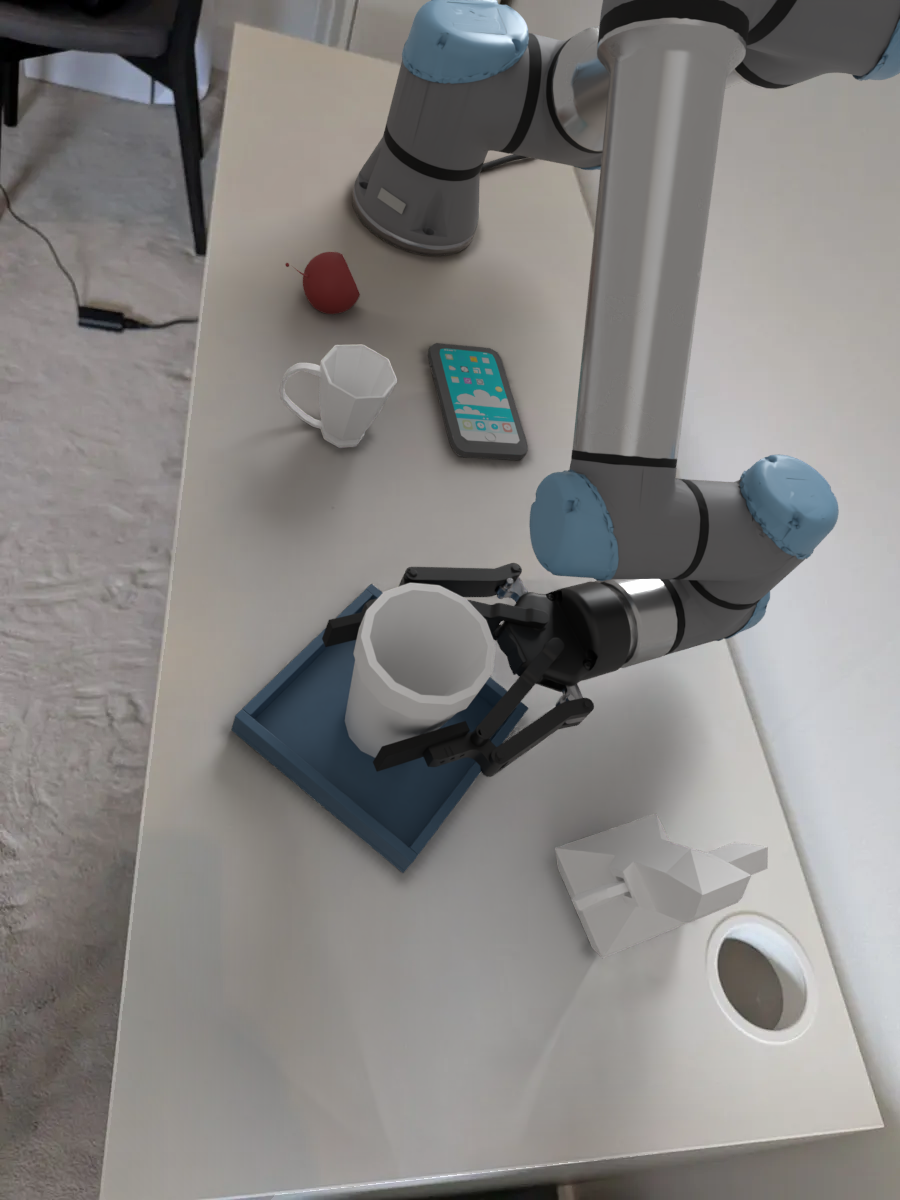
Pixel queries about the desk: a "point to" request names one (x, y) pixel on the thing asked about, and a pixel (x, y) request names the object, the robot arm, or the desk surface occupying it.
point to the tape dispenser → (650, 882)
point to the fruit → (329, 283)
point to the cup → (346, 392)
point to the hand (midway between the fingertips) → (352, 694)
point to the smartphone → (477, 402)
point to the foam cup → (415, 664)
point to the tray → (358, 750)
